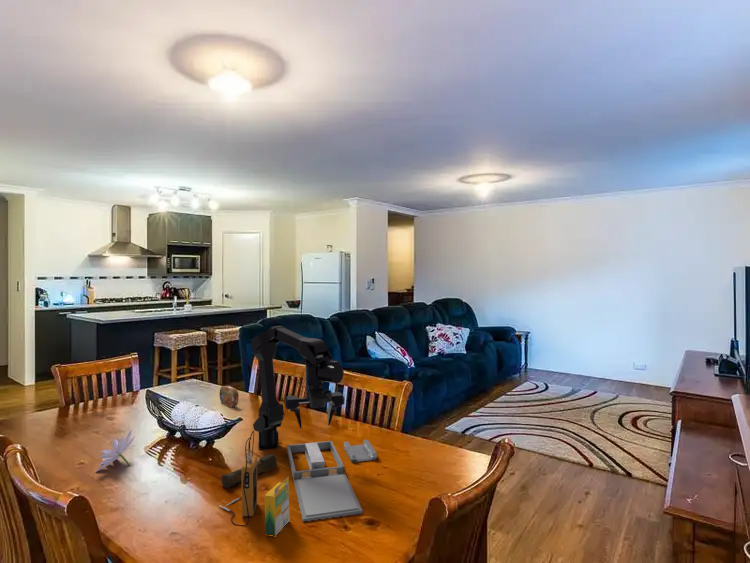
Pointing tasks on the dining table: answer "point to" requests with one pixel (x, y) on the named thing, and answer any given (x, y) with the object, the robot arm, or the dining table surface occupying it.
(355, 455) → the stay bracket
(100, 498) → the dining table surface
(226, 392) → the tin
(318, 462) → the white square bar
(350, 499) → the case
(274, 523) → the crayon box
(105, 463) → the lavender daisy flower
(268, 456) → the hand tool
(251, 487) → the multimeter
